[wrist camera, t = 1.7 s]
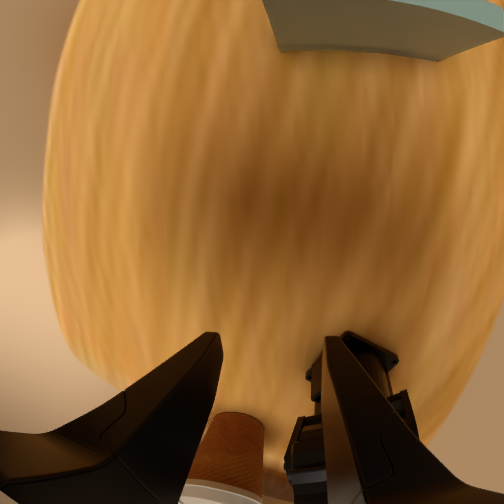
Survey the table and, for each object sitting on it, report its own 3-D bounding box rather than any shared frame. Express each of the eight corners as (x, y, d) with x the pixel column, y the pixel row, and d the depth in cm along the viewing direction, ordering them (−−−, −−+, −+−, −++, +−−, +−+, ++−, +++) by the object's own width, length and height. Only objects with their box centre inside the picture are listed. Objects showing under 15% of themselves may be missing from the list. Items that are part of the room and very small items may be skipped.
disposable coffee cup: (275, 406, 29) (258, 505, 18) (278, 446, 32) (265, 526, 21) (192, 398, 30) (156, 485, 20) (208, 439, 34) (184, 512, 23)
